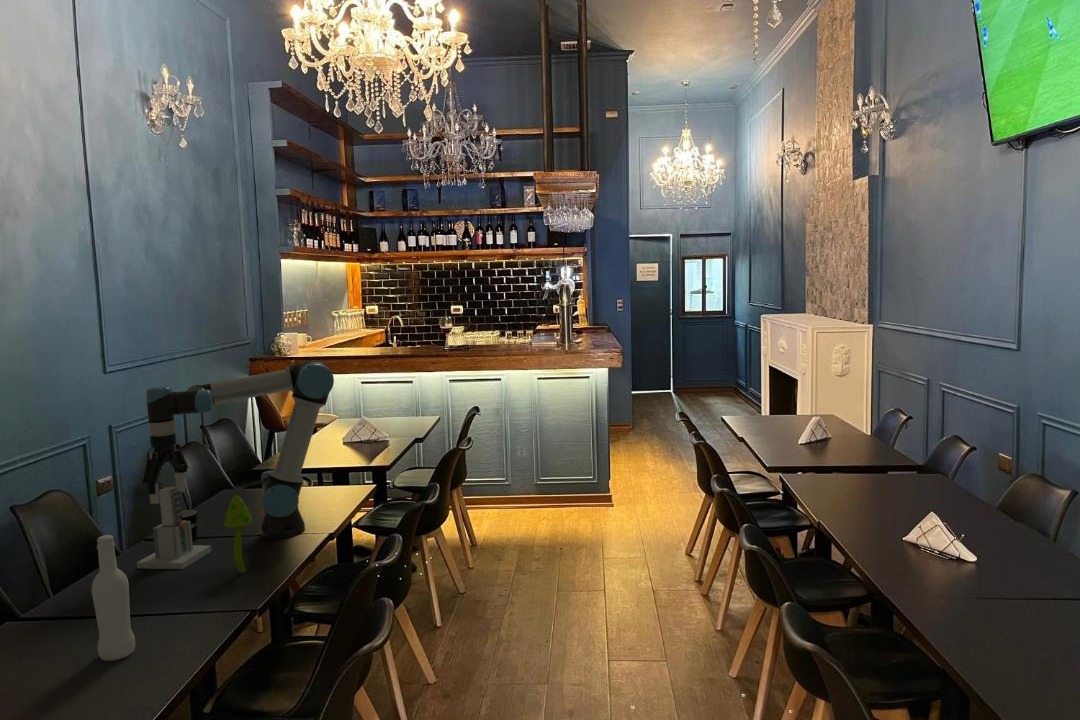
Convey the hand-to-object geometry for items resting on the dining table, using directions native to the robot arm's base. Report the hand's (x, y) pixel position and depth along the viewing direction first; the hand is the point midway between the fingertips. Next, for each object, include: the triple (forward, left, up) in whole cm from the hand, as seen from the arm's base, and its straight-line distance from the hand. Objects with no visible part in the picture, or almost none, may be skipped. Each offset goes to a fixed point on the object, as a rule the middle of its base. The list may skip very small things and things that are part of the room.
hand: (168, 497), depth 254 cm
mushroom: (-30, +10, -21) cm, 38 cm away
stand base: (0, 0, -21) cm, 21 cm away
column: (-1, 0, -19) cm, 19 cm away
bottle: (-27, +63, -21) cm, 72 cm away
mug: (+8, -19, -21) cm, 30 cm away
